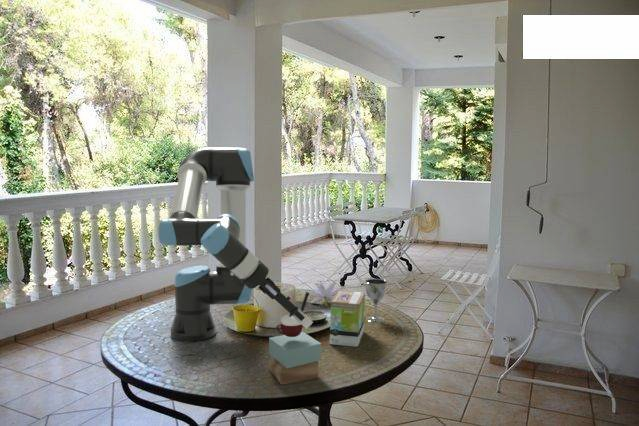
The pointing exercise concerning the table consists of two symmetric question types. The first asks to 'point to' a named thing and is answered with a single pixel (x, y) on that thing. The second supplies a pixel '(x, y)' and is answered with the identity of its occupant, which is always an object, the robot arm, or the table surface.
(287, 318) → the cocoa
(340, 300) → the tea box
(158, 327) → the table surface
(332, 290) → the water lily
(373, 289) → the wine glass
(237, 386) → the table surface
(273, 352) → the tower top
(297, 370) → the tower base
